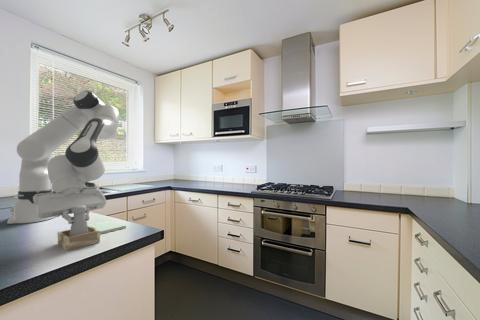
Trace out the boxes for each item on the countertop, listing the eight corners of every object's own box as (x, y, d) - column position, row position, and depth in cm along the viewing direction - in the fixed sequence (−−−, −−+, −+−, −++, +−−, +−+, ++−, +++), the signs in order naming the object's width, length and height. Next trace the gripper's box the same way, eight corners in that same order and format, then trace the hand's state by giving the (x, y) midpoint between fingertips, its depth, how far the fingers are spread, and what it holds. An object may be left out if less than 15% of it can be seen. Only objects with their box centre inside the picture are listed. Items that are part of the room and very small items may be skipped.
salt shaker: (64, 244, 74) (64, 206, 74) (81, 238, 80) (81, 203, 80) (75, 247, 72) (76, 208, 72) (92, 241, 78) (93, 204, 78)
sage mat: (81, 228, 92) (81, 226, 92) (111, 221, 101) (111, 219, 101) (94, 235, 83) (94, 233, 83) (126, 227, 93) (126, 225, 93)
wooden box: (57, 243, 75) (57, 232, 75) (89, 236, 83) (89, 225, 83) (66, 250, 69) (66, 238, 69) (99, 241, 77) (99, 230, 77)
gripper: (33, 188, 71) (42, 223, 66) (101, 183, 88) (112, 210, 83) (29, 200, 74) (38, 234, 68) (96, 192, 91) (107, 220, 85)
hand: (79, 221), depth 76 cm, fingers closed on salt shaker, 3 cm apart
